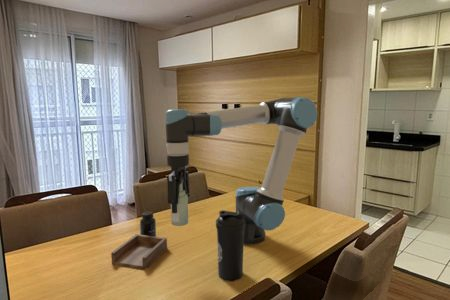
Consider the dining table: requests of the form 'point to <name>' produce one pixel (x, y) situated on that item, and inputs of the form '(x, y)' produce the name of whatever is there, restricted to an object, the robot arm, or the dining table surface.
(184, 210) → the bottle
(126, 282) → the dining table surface
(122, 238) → the dining table surface
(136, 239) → the u rest
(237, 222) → the water bottle
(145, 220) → the supplement bottle
